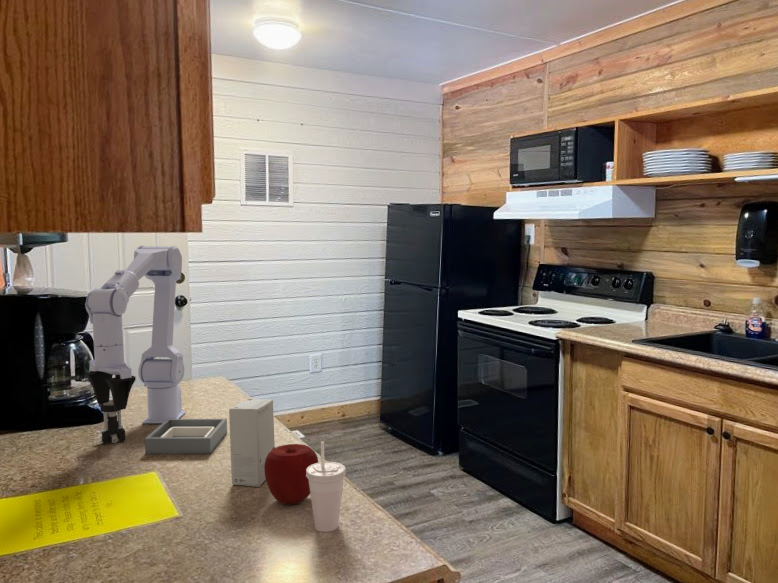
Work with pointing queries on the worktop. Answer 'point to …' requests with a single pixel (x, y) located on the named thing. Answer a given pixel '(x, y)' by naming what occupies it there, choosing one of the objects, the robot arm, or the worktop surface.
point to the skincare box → (250, 440)
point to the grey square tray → (185, 437)
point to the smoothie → (326, 492)
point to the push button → (111, 424)
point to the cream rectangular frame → (188, 431)
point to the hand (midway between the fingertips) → (111, 406)
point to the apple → (289, 472)
